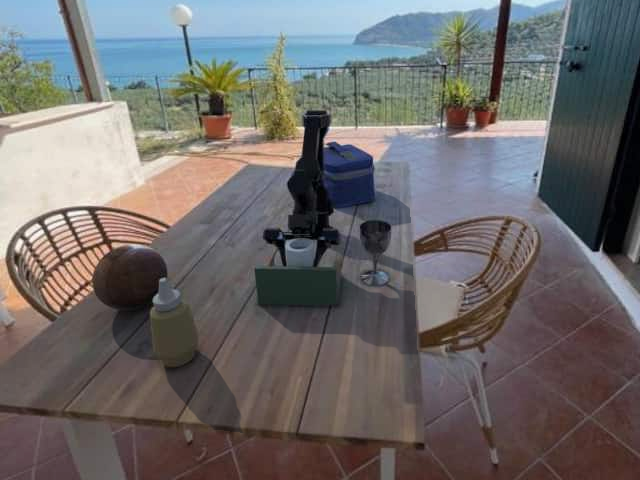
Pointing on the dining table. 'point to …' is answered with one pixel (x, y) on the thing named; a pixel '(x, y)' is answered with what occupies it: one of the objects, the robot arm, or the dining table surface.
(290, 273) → the cubby cabinet
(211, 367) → the dining table surface
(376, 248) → the wine glass
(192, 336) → the squeeze bottle
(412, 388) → the dining table surface
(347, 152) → the lunch bag
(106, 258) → the wooden sphere
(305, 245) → the storage jar
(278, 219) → the dining table surface
